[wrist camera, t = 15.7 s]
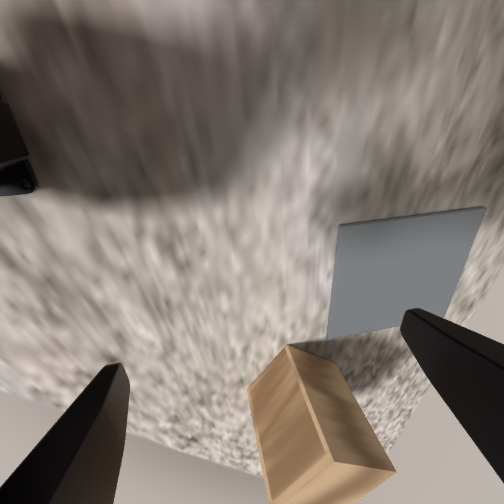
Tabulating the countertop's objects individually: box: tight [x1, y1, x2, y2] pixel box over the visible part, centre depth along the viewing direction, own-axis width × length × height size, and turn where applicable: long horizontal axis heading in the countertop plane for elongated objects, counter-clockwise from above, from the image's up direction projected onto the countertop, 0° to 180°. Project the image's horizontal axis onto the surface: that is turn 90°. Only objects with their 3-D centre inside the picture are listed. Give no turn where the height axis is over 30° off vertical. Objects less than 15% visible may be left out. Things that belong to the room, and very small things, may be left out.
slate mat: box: [326, 207, 486, 340], centre depth 25 cm, size 13×12×1 cm
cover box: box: [247, 345, 396, 504], centre depth 24 cm, size 7×7×10 cm
